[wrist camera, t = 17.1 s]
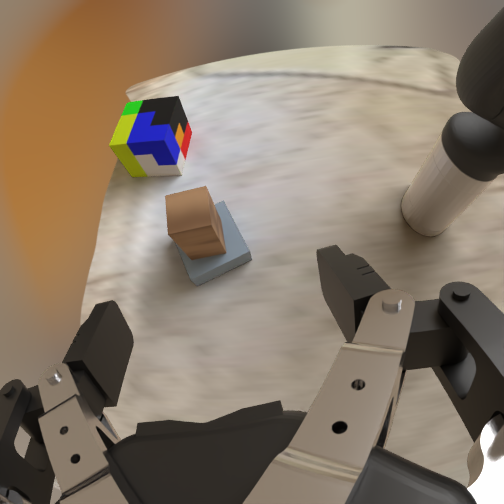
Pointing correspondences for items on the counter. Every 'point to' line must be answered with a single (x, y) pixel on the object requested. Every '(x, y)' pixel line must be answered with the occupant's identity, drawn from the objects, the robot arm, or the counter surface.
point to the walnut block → (195, 223)
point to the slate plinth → (221, 263)
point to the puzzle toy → (152, 137)
